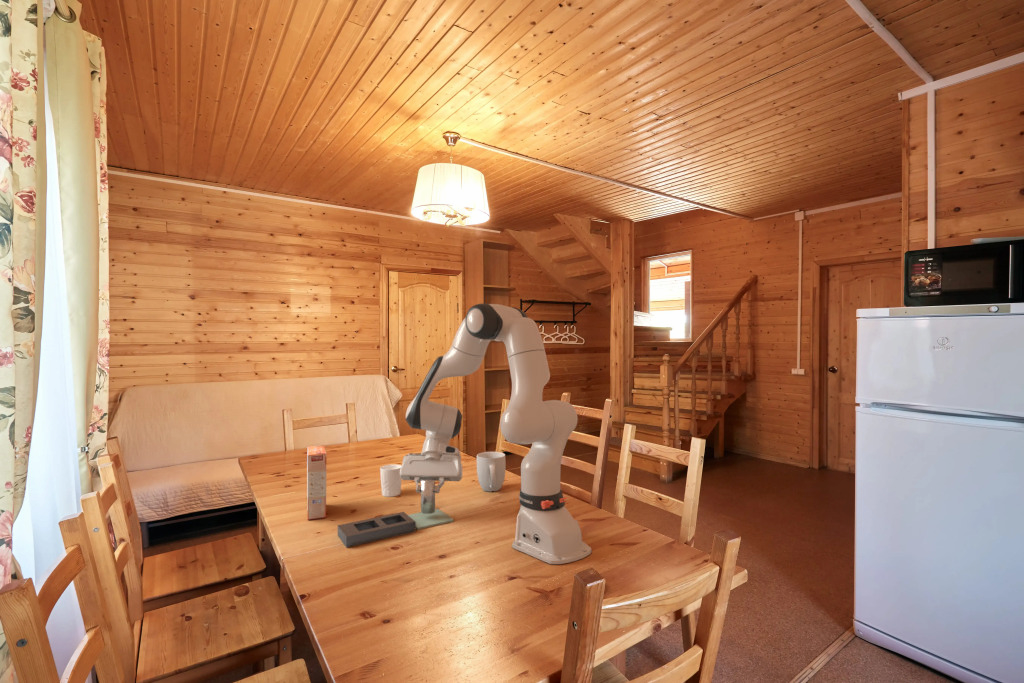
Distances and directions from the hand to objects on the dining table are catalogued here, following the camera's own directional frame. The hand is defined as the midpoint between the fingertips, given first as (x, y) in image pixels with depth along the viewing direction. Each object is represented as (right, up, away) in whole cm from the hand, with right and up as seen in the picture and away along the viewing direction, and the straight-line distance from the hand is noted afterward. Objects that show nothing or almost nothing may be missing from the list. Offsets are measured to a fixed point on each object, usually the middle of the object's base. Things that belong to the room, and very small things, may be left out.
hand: (427, 491), depth 154 cm
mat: (0, -9, +1) cm, 9 cm away
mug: (+19, -9, +31) cm, 37 cm away
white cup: (-18, -9, +27) cm, 34 cm away
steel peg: (0, -6, +1) cm, 6 cm away
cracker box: (-38, -9, +8) cm, 40 cm away
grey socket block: (-13, -9, -10) cm, 19 cm away
